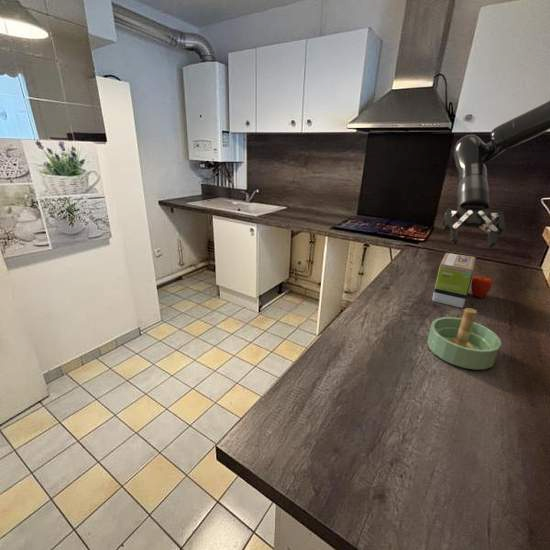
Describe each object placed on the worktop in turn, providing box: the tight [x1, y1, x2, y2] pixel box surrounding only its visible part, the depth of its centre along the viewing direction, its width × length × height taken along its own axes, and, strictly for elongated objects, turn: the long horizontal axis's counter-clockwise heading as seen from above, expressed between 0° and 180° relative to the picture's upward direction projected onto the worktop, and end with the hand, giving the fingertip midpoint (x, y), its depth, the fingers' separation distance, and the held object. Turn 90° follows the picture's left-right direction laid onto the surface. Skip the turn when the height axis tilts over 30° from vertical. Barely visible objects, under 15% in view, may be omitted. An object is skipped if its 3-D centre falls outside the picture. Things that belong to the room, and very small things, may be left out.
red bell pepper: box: [470, 275, 493, 298], centre depth 107 cm, size 6×6×8 cm
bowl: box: [426, 316, 502, 370], centre depth 77 cm, size 16×16×6 cm
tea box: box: [432, 252, 477, 309], centre depth 105 cm, size 15×10×15 cm
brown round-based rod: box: [448, 307, 478, 349], centre depth 76 cm, size 6×6×12 cm
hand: (473, 244), depth 78 cm, fingers open, 8 cm apart
